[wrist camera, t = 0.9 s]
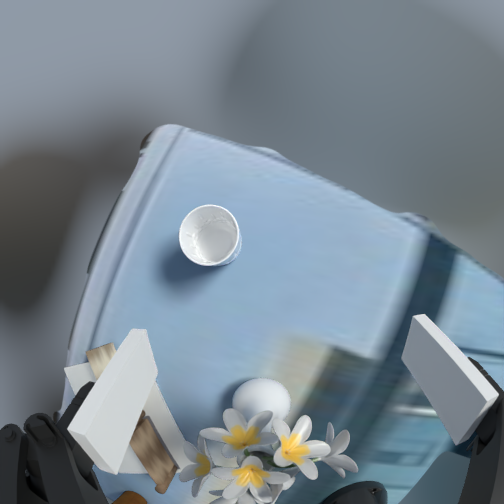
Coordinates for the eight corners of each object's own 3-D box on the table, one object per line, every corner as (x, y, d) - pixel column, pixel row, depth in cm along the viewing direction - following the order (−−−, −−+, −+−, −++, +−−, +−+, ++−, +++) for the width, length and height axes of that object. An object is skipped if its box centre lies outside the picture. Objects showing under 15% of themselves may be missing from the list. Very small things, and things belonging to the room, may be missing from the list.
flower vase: (326, 407, 40) (368, 501, 15) (226, 433, 41) (195, 531, 16) (308, 343, 42) (351, 412, 17) (201, 372, 42) (139, 452, 17)
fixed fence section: (179, 470, 40) (167, 493, 31) (171, 470, 40) (158, 493, 31) (142, 407, 41) (122, 426, 33) (134, 408, 42) (114, 426, 33)
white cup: (252, 230, 44) (248, 216, 34) (234, 276, 44) (225, 275, 34) (208, 214, 45) (192, 196, 35) (190, 258, 44) (169, 252, 34)
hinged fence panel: (140, 405, 41) (123, 421, 34) (133, 406, 41) (116, 421, 34) (112, 342, 43) (91, 350, 36) (106, 344, 43) (85, 351, 36)
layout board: (202, 468, 40) (202, 470, 39) (120, 471, 40) (119, 473, 40) (141, 348, 43) (140, 348, 43) (65, 367, 44) (63, 368, 43)
